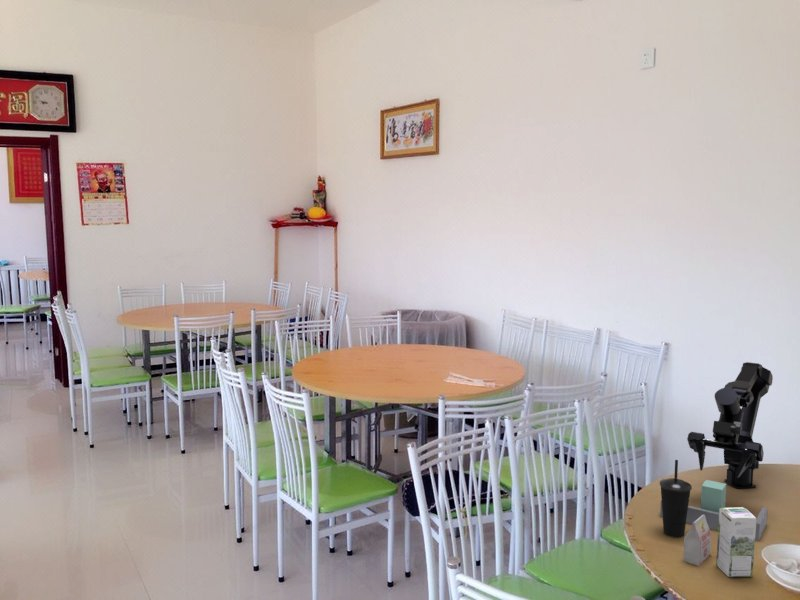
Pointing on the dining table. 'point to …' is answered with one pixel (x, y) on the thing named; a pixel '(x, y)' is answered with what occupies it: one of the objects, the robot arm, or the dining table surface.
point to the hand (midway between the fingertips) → (718, 473)
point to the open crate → (713, 519)
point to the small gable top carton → (697, 542)
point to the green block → (713, 496)
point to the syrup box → (736, 542)
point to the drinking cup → (674, 504)
